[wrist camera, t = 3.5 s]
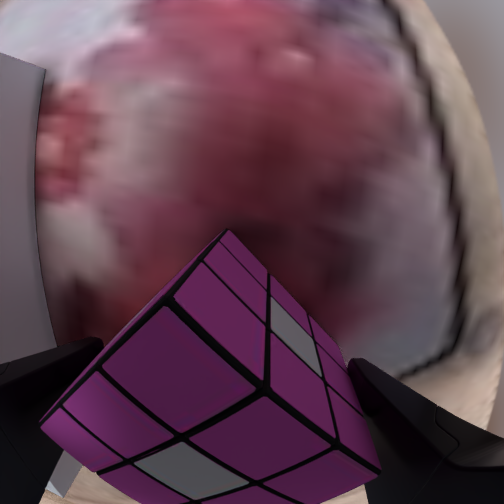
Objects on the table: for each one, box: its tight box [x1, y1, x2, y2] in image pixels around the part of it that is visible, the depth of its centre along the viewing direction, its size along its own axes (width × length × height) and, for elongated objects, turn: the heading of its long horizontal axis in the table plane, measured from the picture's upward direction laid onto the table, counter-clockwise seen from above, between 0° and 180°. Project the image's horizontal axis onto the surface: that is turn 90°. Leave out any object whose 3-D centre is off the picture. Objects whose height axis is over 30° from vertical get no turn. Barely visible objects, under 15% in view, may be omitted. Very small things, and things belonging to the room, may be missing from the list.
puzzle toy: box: [39, 229, 382, 504], centre depth 7 cm, size 6×6×6 cm
